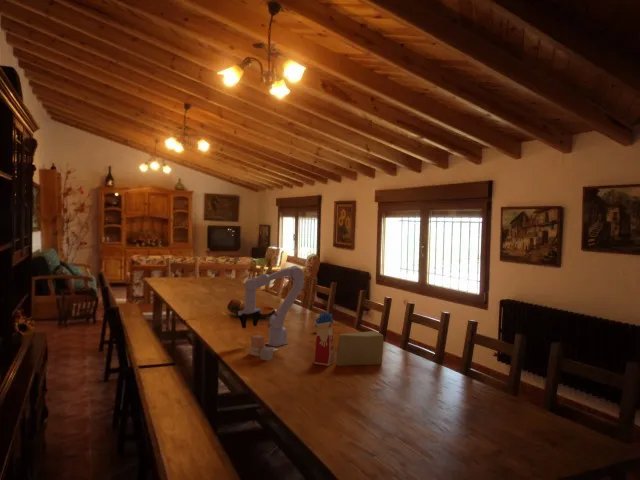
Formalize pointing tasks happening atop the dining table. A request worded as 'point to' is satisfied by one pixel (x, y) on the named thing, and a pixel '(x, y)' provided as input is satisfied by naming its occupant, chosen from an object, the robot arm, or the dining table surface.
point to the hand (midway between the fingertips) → (249, 326)
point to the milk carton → (324, 345)
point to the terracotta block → (257, 341)
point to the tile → (274, 349)
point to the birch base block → (255, 350)
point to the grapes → (324, 318)
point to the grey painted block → (266, 353)
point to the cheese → (360, 349)
